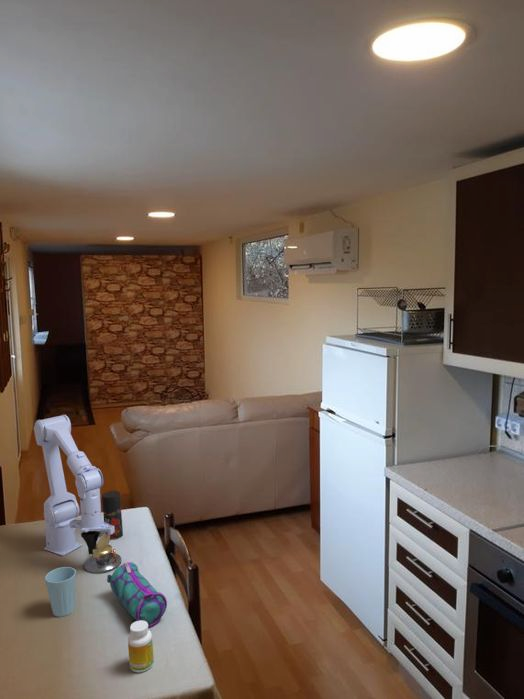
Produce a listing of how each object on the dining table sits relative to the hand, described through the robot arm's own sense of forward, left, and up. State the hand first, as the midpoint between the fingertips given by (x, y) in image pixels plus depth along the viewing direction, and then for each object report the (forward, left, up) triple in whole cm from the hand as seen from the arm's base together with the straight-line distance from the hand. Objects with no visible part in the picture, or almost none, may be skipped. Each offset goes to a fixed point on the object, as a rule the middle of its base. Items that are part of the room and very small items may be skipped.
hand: (93, 552), depth 165 cm
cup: (+8, -18, -6) cm, 21 cm away
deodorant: (-12, +19, -6) cm, 23 cm away
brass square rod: (-1, +4, -2) cm, 4 cm away
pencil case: (+25, -8, -6) cm, 27 cm away
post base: (-1, +4, -6) cm, 7 cm away
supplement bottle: (+41, -23, -6) cm, 48 cm away
